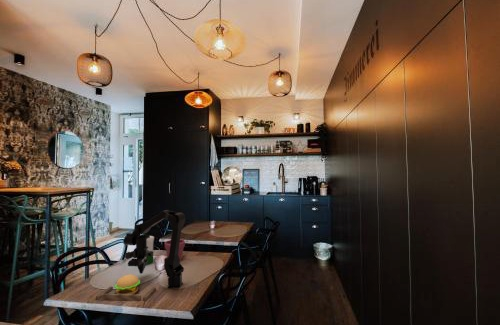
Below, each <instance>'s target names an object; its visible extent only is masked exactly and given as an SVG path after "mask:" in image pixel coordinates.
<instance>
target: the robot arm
mask: <svg viewBox="0 0 500 325" xmlns="http://www.w3.org/2000/svg"><path fill="white" fill-rule="evenodd" d="M163 220H165V221H166V222H169V223H170V227H171V235H170V237H171V238H170V240H171V244H170V252H169V256H167V257H165V258H164V262H163V267H164V271H165V273H166V277H167V285H168V286H167V288H168V289H180V288H181V287H182V285H183V284H184V282H183V272H184V271H185V268H184V267H183V265H182V264H181V260H180V258H179V256H178V252H179V244H180V239H181V234H182V229H183V227H184V225H185V223H186V215H185V214H184V213H183V212H177V211H172V210H169V209H166V210H162V211H161V212H160V213H158V214H156V215H155V216H153V217H152V218H150V219H148V220H147V221H145V222H141V223H139V224H136V225H135V226H134V229H133V231H132V232H128V233H126V234H125V236H124V238H123V242H122V243H123V244H124V245H125V246H135V248H134V249H133V250H132V251H127V252H125V253H124V258H125V259H126V260H127V266H128V267H137V269H138V272H139V274H141V275H142V274H143V273H144V270H145V269H146V266H147V265H146V264H147V262H148V260H149V259H147V258H146V257H147V256H150V257H152V256H153V257H154V251H153V252H152V251H147V249H148V247H147V238H150V236H151V235H149V234H148V232H149V231H150V230H151V229H152V227H154V226H155V225H157V224H158V223H160V222H162V221H163ZM142 234H145V235H142ZM128 260H129V261H128Z"/></svg>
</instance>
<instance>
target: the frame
mask: <svg viewBox="0 0 500 325" xmlns="http://www.w3.org/2000/svg"><path fill="white" fill-rule="evenodd" d="M113 290H114V286H109V287H108V288H105V289H104V290H103V291H102V292H100V293H99V294H98V295H96V296H95V300H98V301H99V300H101V301H136V302H140V301H144V302H146V301H147V300H149V298H150V297H151V296H152V295H153V294H154V293H155V292H156V291H157V287H152V288H151V289H150V290H149V291H148V292H147V293H145V295H144V296H143V297H142V294H136V293H135V294H117V293H110V292H112V291H113Z"/></svg>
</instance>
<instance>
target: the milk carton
mask: <svg viewBox="0 0 500 325" xmlns="http://www.w3.org/2000/svg"><path fill="white" fill-rule="evenodd" d="M145 234H146V233H144V234H141V235H145ZM149 236H150V238H147V247H148V249H147V251H152V252H153V253H154V241H155V236H153V235H149ZM146 258H147V259H149V260H148V262H147V264H146V266H148V265H151V264H153V263H154V255H153V256H152V257H150V256H147V257H146Z"/></svg>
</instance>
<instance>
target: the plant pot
mask: <svg viewBox="0 0 500 325" xmlns="http://www.w3.org/2000/svg"><path fill="white" fill-rule="evenodd" d="M170 244H171V239H169V240H165V242H164V249H165V251H166V254H167V257H168V256H169V252H170ZM185 245H186V240H184V239H181V238H180V244H179V252H178V256H179V258H180V261H181V260H182V258H183V252H184V247H185Z"/></svg>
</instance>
